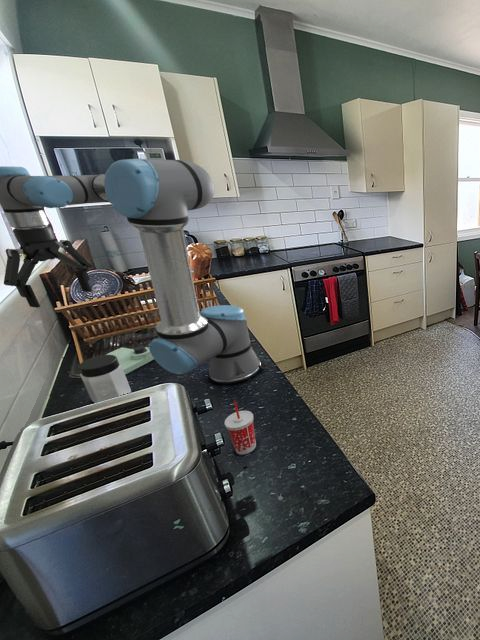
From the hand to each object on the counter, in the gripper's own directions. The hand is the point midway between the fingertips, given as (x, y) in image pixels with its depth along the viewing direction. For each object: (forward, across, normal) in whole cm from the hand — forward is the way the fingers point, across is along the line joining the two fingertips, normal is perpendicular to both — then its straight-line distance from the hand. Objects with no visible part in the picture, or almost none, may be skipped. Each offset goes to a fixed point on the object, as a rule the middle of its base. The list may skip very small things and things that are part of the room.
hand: (62, 298), depth 105 cm
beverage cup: (+26, +18, +72) cm, 78 cm away
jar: (+25, +10, +21) cm, 34 cm away
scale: (+25, -5, +6) cm, 26 cm away
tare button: (+22, -8, +11) cm, 26 cm away
